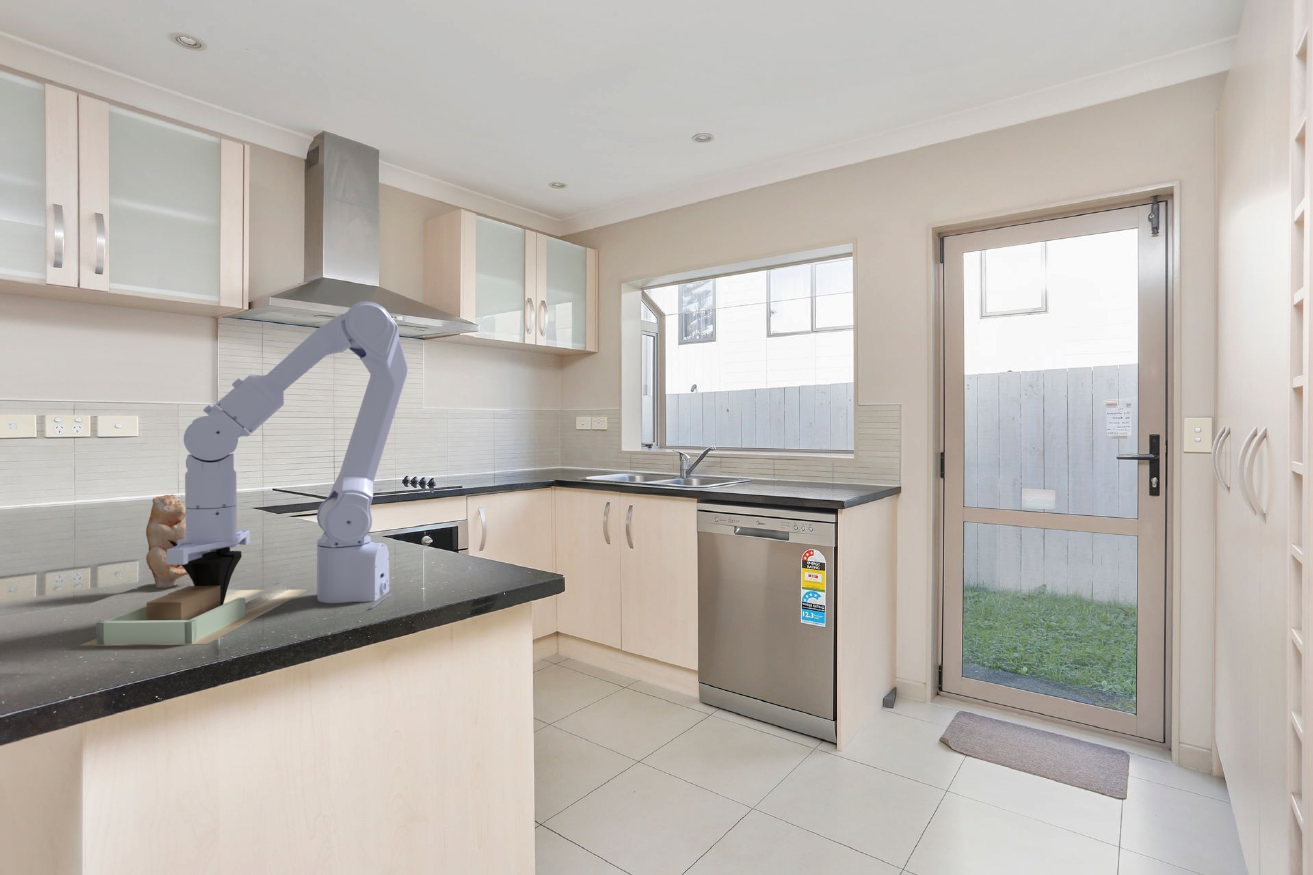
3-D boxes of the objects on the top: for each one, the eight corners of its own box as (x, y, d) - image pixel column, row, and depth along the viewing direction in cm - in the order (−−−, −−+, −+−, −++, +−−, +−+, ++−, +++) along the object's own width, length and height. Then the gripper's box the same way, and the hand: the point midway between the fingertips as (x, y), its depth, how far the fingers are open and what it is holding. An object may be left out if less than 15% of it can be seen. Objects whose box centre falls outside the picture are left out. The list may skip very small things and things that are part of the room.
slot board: (308, 595, 101) (308, 589, 101) (206, 652, 76) (206, 643, 76) (214, 596, 101) (214, 590, 101) (79, 653, 76) (79, 645, 76)
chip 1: (202, 624, 83) (202, 593, 83) (181, 635, 79) (181, 602, 79) (169, 625, 83) (169, 593, 83) (146, 635, 79) (146, 602, 79)
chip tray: (245, 616, 87) (245, 597, 87) (191, 643, 76) (191, 621, 76) (162, 617, 87) (161, 598, 87) (96, 644, 76) (96, 622, 76)
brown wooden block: (220, 615, 87) (220, 585, 87) (201, 624, 83) (200, 593, 83) (189, 615, 87) (189, 585, 87) (168, 625, 83) (168, 593, 83)
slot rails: (290, 589, 101) (290, 581, 101) (241, 614, 88) (240, 605, 88) (233, 589, 101) (233, 582, 101) (176, 614, 88) (175, 605, 88)
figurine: (173, 596, 100) (172, 498, 100) (132, 594, 102) (131, 497, 102) (208, 587, 106) (208, 494, 106) (169, 584, 108) (168, 493, 108)
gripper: (214, 500, 96) (215, 593, 96) (140, 513, 81) (142, 623, 81) (264, 500, 96) (265, 593, 96) (200, 513, 81) (201, 623, 82)
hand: (212, 607), depth 89 cm, fingers closed
